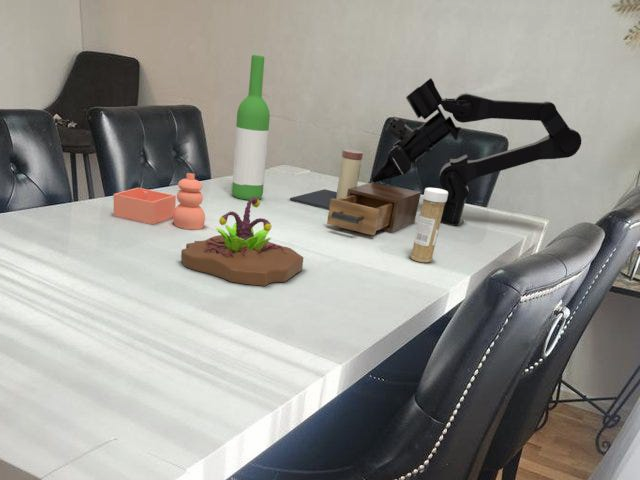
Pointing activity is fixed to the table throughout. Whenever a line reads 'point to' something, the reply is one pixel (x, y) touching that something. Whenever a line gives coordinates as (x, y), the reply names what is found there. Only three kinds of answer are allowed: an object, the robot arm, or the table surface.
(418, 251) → the spice jar
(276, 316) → the table surface
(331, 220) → the drawer
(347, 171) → the spice shaker
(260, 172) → the wine bottle
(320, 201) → the mat
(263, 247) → the plant
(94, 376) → the table surface
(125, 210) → the pottery
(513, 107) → the robot arm
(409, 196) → the cabinet
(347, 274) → the table surface
